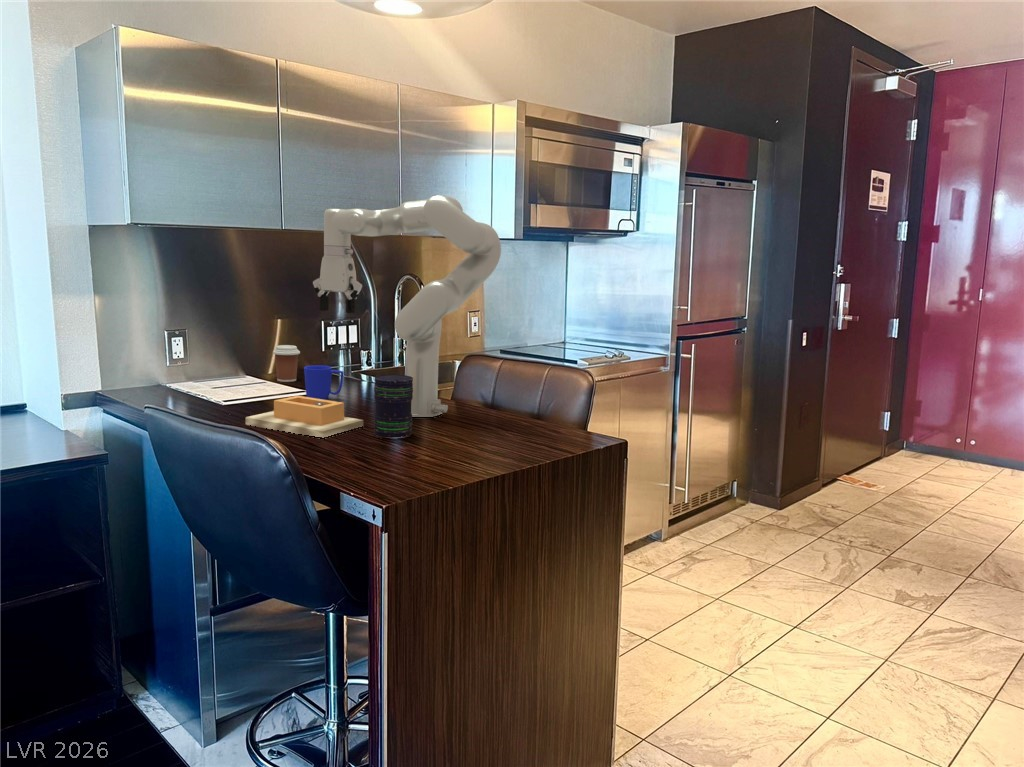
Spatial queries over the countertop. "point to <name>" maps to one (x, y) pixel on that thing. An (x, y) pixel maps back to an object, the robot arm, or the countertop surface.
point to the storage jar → (393, 405)
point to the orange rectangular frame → (308, 410)
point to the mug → (320, 381)
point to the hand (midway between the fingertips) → (337, 311)
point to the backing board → (302, 425)
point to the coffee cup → (286, 362)
